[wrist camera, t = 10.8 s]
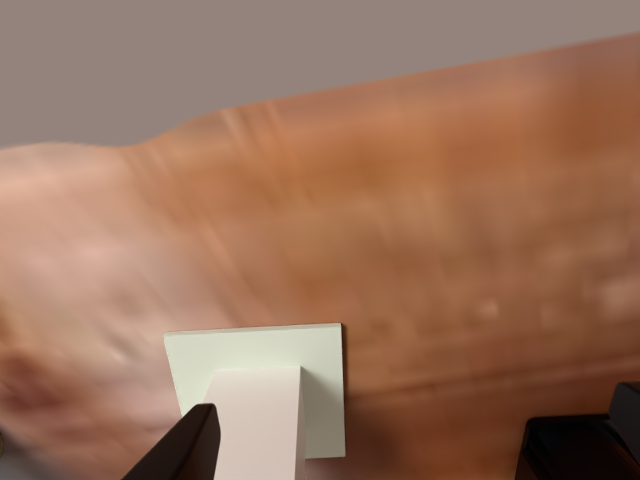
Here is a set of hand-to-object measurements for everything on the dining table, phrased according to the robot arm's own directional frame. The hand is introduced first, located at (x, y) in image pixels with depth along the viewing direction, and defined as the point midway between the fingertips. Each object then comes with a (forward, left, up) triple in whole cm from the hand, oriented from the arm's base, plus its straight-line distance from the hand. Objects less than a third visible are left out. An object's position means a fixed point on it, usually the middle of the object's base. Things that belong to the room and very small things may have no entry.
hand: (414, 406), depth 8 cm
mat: (+6, +10, -11) cm, 16 cm away
